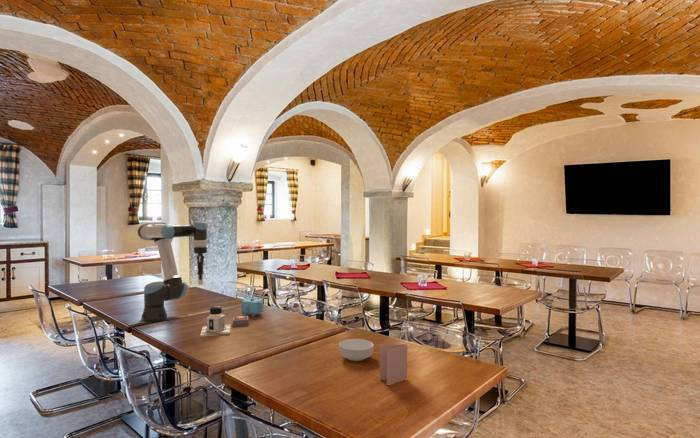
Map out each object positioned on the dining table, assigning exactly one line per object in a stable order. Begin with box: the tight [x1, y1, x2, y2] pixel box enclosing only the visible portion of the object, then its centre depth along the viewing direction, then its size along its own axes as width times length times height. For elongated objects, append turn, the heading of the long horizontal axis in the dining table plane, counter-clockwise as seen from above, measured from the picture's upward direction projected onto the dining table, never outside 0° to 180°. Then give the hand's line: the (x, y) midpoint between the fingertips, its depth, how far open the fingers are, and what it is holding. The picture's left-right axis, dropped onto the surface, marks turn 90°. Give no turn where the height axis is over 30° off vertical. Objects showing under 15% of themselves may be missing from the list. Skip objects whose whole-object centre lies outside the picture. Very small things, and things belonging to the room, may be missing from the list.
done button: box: [235, 315, 246, 320], centre depth 263 cm, size 6×6×2 cm
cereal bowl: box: [338, 338, 375, 362], centre depth 204 cm, size 17×17×7 cm
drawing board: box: [199, 323, 232, 338], centre depth 247 cm, size 18×16×1 cm
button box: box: [232, 315, 249, 327], centre depth 263 cm, size 9×9×4 cm
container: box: [206, 306, 226, 331], centre depth 247 cm, size 8×8×13 cm
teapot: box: [240, 296, 264, 318], centre depth 286 cm, size 16×18×11 cm
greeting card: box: [379, 344, 408, 386], centre depth 176 cm, size 11×7×15 cm, turn 92°
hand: (200, 284), depth 262 cm, fingers closed
